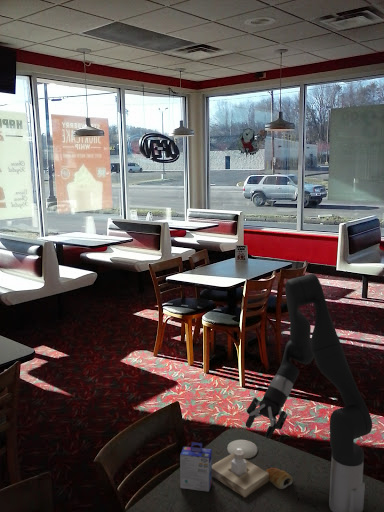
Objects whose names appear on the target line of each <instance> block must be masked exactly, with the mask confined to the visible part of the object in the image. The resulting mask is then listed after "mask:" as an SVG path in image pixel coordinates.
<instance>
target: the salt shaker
mask: <svg viewBox="0 0 384 512" xmlns="http://www.w3.org/2000/svg"><path fill="white" fill-rule="evenodd" d="M245 460H246V459H245ZM245 460H244V452H243V451H242V450H236V451H235V452H234V459H233V460H232V461H231V472H232V473H234V474H235V475H237V476H239V477H240V476H242V475H243V474H245V473H247V463H246V461H245Z"/></svg>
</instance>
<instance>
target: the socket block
mask: <svg viewBox="0 0 384 512" xmlns="http://www.w3.org/2000/svg"><path fill="white" fill-rule="evenodd" d="M233 459H234V453H232V454H228V455H227V456H225V457H224V458H221V459H220V460H219V461H217V462H215V463H212V478H214V479H215V480H217V481H218V482H221V483H222V484H223V485H225V486H226V487H228V488H230V489H231V490H233V491H234V492H236V493H237V494H238V495H240V496H242V497H243V498H246V497H248V496H249V495H251V494H252V493H253V492H255V491H256V490H258V489H260V488H261V487H263V486H264V485H265V484H267V483H268V482H270V480H269V473H268V472H266V470H264V469H263V468H261V467H259V466H257V465H255V464H254V463H253V462H251V461H249V460H248V459H244V460H245V461H246V463H247V473H245V474H243V475H242V476H240V477H239V476H237V475H235V474H234V473H232V472H231V461H232V460H233Z"/></svg>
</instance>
